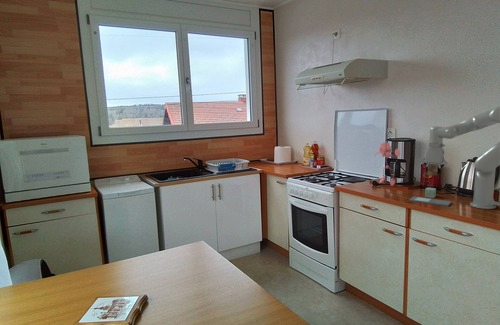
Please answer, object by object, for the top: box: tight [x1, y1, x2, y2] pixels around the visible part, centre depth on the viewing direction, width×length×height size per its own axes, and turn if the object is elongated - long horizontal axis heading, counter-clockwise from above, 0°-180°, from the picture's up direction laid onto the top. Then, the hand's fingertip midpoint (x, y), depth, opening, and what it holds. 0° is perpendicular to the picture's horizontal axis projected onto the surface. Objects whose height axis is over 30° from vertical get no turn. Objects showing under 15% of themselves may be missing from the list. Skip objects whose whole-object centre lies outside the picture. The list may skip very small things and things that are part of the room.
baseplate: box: [408, 196, 452, 208], centre depth 205 cm, size 22×10×1 cm, turn 48°
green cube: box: [424, 187, 437, 199], centre depth 218 cm, size 6×6×6 cm
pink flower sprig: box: [374, 141, 401, 189], centre depth 253 cm, size 15×26×35 cm, turn 22°
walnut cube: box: [426, 164, 440, 176], centre depth 207 cm, size 6×6×6 cm
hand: (433, 173), depth 207 cm, fingers closed on walnut cube, 5 cm apart
